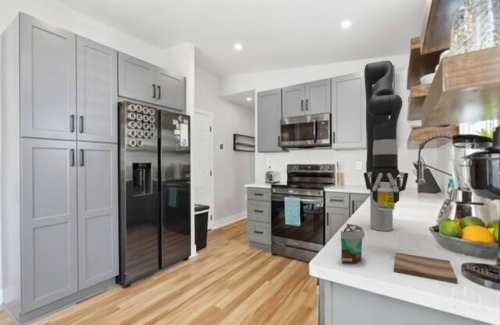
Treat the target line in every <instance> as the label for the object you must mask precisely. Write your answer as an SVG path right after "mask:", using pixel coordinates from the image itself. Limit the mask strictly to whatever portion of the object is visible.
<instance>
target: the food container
mask: <svg viewBox="0 0 500 325" xmlns="http://www.w3.org/2000/svg"><path fill="white" fill-rule="evenodd" d="M365 236H366V235H365V229H363V227H362V226H359V225H357V224H352V223H346V228H344V229H343V231H340V245H341V248H340V249H341V251H340V252H341V264H345V263H346V264H348V265H351V264H353V265H354V264H359V263H361V261H362V251H363V238H364V237H365Z"/></svg>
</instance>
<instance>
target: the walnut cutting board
mask: <svg viewBox="0 0 500 325" xmlns="http://www.w3.org/2000/svg"><path fill="white" fill-rule="evenodd" d="M393 272H394V273H399V274H405V275H410V276H416V277H421V278H425V279H431V280H435V281H440V282H447V283H452V284H458V277H457V275H456V273H455V271H454V268H453V266H452V264H451V261H450V260H447V259H441V258H440V259H439V258H435V257H429V256H423V255H421V256H420V255H415V254H408V253H401V252H395V256H394V264H393Z"/></svg>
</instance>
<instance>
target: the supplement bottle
mask: <svg viewBox="0 0 500 325" xmlns="http://www.w3.org/2000/svg"><path fill="white" fill-rule="evenodd" d="M379 186H380V187H379V188H377V208H378V209H379V210H385V211H392V210H393V211H394V210H395V208H396V207H395V204H396V203H394V192H395V190H394V188H393V186H392V184H391V182H379ZM391 186H392V188H391Z"/></svg>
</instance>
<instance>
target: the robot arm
mask: <svg viewBox="0 0 500 325" xmlns="http://www.w3.org/2000/svg"><path fill="white" fill-rule="evenodd" d="M363 70H364V74H363V75H364V87H365V88H364V89H365V100H366V102H365V105H366V107H365V128H366V166H365V167H366V171H365V172H364V173H363V176H364V182H365V183H364V184H365V186H366V189H367V190H369V194H370V195H369V200H370V202H369V204H370V207H369V208H370V213H369V215H370V228H371V230H375V231H380V232H391V231H393V230H394V228H393V227H394V224H393V223H394V219H393V218H394V214H393V213H394V210H392V211H385V210H379V209H378V208H377V188H379V187H380V186H379V182H391V184H392V186H391V188H393V189H394V203H395V204H397V203H398V202H399V201H400V192H402V191H403V192H404V191H405V190H406V187H407V183H408V179H409V173H408V172H401V171H400V170H399V168H398V167H399V163H398V162H399V159H398V155H399V154H398V152H399V151H398V141H397V127H398V121H399V118H400V113H401V110H402V107H403V99H402V97H401V96H400V95H399V94H395V93H394V88H393V83H394V66H393V63H392V61H390V60H382V61H381V60H380V61H376V62H369V63H366V65H365V67H364V69H363ZM398 176H400V178H401V179H402V183H401V186H398V184H397V182H396V179H397V177H398ZM371 177H372V178H374V179H375V182H374V184H371V181H370V178H371Z"/></svg>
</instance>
